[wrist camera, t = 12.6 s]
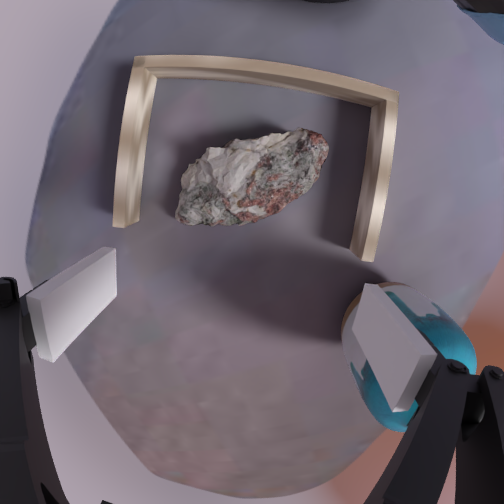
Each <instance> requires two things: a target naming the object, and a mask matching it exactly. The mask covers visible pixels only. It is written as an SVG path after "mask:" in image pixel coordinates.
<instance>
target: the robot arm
mask: <svg viewBox="0 0 504 504" xmlns="http://www.w3.org/2000/svg"><path fill="white" fill-rule="evenodd" d="M305 1H311V2H320V3H336V2H344V1H348V0H305ZM453 1H454V2H455V3H456V4H457V7H458V8H459V9H460V10H461V11H462V12H464V13H466V14H468V15H469V16H470V17H471V18H472V19H473V20H474V21H475V22H476V23H477V24H478V25H479V26H480V27H481V28H482V29H483V30H484V31H485V32H486V33H487V34H488V35H489V36H490V37H491V38H493V39H494V40H496V41H497V42H499V43H501V44H503V45H504V0H453ZM116 296H117V286H116V248H111V247H102V248H100V249H99V250H97V251H95V252H93V253H92V254H90V255H88V256H87V257H85V258H83V259H82V260H80V261H79V262H77V263H75V264H74V265H72V266H70V267H69V268H67V269H66V270H64V271H62V272H61V273H59V274H58V275H56V276H55V277H53V278H51V279H49V280H46V281H44V282H43V283H41V284H40V285H39V286H37V287H35V288H34V289H33V290H31V291H29V292H28V293H26V294H25V295H23V296H22V297H20V298H19V293H18V286H17V281H16V279H14V278H12V277H1V278H0V504H69V502H68V500H67V499H66V497H65V494H64V492H63V490H62V487H61V484H60V481H59V478H58V475H57V472H56V469H55V466H54V462H53V459H52V456H51V452H50V448H49V444H48V441H47V437H46V432H45V429H44V424H43V419H42V414H41V409H40V404H39V398H38V392H37V386H36V379H35V371H34V362H33V356H32V352H31V349H32V348H33V347H34V346H35V345H36V346H37V350H38V354H39V357H40V358H43V359H45V360H48V361H51V362H54V361H55V360H56V359H57V358H58V357H59V356H60V355H61V353H63V351H64V350H65V349H66V348H67V347H68V346H69V345H70V344H71V343H72V342H73V341H74V340H75V338H76V337H77V336H78V335H79V334H80V333H81V332H82V331H83V330H84V329H85V328H86V327H87V326H88V325H89V324H90V323H91V322H92V321H93V320H94V318H95V317H96V316H97V315H98V314H99V313H100V312H101V311H102V310H103V309H104V308H105V307H106V306H107V305H108V304H109V303H110V302H111V301H112V300H113V299H114V298H115V297H116ZM352 331H353V332H354V334H355V336H356V338H357V340H358V342H359V344H360V346H361V348H362V350H363V352H364V354H365V356H366V358H367V360H368V362H369V364H370V366H371V368H372V370H373V372H374V375H375V377H376V379H377V381H378V383H379V385H380V387H381V389H382V391H383V393H384V395H385V398H386V400H387V402H388V404H389V406H390V408H391V410H392V412H401V411H408V410H409V409H410V407H411V405H412V403H413V402H414V400H416V402H417V404H418V407H417V409H416V411H415V412H414V414H413V416H412V417H411V419H410V421H409V422H408V424H407V425H406V426H408V427H407V430H406V432H405V434H404V436H403V438H402V440H401V441H400V443H399V445H398V447H397V449H396V451H395V453H394V455H393V456H392V459H391V460H390V462H389V464H388V465H387V467H386V469H385V471H384V472H383V474H382V476H381V477H380V479H379V481H378V482H377V484H376V485H375V487H374V489H373V490H372V492H371V493H370V495H369V496H368V498H367V499H366V501H365V502H364V504H437V502H438V499H439V497H440V494H441V491H442V489H443V486H444V483H445V480H446V477H447V474H448V471H449V468H450V464H451V461H452V458H453V454H454V450H455V447H456V492H455V504H504V372H503V371H502V369H499V367H495V366H489V365H488V366H485V367H484V369H483V371H482V372H481V374H480V375H474V374H470V373H469V369H468V368H467V366H465V365H464V364H463V363H461V362H459V361H458V360H454V359H446V358H445V357H444V356H443V355H442V353H441V352H440V351H439V350H438V349H437V347H436V346H434V344H433V343H432V341H430V339H429V338H428V337H427V336H426V334H425V333H423V332H422V331H420V330H419V329H417V328H415V327H414V325H413V324H412V323H411V322H410V321H409V320H408V318H407V317H406V316H405V315H404V314H403V313H402V311H401V310H400V309H399V308H398V307H397V306H396V305H395V303H394V302H393V301H392V300H391V299H390V298H389V297H388V296H387V294H386V293H385V292H384V291H383V290H382V289H381V288H380V287H379V286H378V285H376V284H368V283H365V285H364V289H363V292H362V296H361V299H360V303H359V306H358V310H357V313H356V317H355V320H354V323H353V326H352ZM101 504H112V503H109V502H106V501H104V500H102V502H101Z"/></svg>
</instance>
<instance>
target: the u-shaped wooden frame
mask: <svg viewBox="0 0 504 504" xmlns="http://www.w3.org/2000/svg"><path fill="white" fill-rule="evenodd" d="M157 78H178V79H204V80H219V81H231V82H241V83H250V84H259V85H266V86H273V87H280V88H286V89H292V90H298V91H303V92H309V93H314V94H319V95H323V96H328V97H333V98H337V99H341V100H345V101H349V102H353V103H357V104H361V105H365V106H368V107H372V108H371V118H370V127H369V135H368V143H367V151H366V158H365V165H364V172H363V178H362V185H361V191H360V197H359V202H358V208H357V213H356V219H355V224H354V229H353V234H352V239H351V244H350V249H349V250H351V251H352V252H353V253H354V254H355V255H356V256H357V257H358V258H359V259H360V260H361V261H368V262H373V260H374V256H375V252H376V247H377V243H378V238H379V234H380V229H381V224H382V219H383V214H384V208H385V203H386V197H387V192H388V186H389V179H390V173H391V166H392V159H393V151H394V143H395V134H396V124H397V113H398V101H399V92H398V91H395V90H392V89H388V88H385V87H382V86H379V85H376V84H372V83H369V82H366V81H362V80H358V79H355V78H351V77H347V76H343V75H339V74H335V73H330V72H326V71H321V70H317V69H312V68H307V67H301V66H296V65H290V64H284V63H277V62H270V61H263V60H254V59H245V58H234V57H221V56H202V55H152V56H135V58H134V63H133V67H132V71H131V76H130V81H129V86H128V91H127V96H126V102H125V108H124V114H123V120H122V127H121V134H120V141H119V149H118V158H117V168H116V179H115V191H114V207H113V227H120V228H125V227H127V226H129V225H131V224H133V223H135V222H137V221H139V216H140V202H141V190H142V179H143V169H144V160H145V152H146V144H147V136H148V129H149V122H150V116H151V110H152V104H153V98H154V93H155V87H156V82H157Z"/></svg>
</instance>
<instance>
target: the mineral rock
mask: <svg viewBox="0 0 504 504" xmlns="http://www.w3.org/2000/svg"><path fill="white" fill-rule="evenodd" d="M328 151H329V146H328V143H327V142H326V141H325V139H324V138H323V137H322V134H318V133H316V132H313V131H309V130H307V129H303V128H299V127H298V128H297V129H296V130H295V131H293V132H286V133H284V134H280V133H271V134H269V135H268V136H263V137H260V138H256V139H246V140H239V139H235V140H231V141H229V142H228V143H226V144H225V146H224V147H223V148H220V147H217V148H213V147H209V148H207V149H206V152H205V154H203V155H202V157H201V158H200V159H196V162H195V163H194V164H189V166H188V169H187V170H186V171H185V172H184V173H183V174H182V178H181V185H182V189H183V190H182V191H181V193H180V195H179V198H180V199H179V205H178V208H177V210H176V212H175V218H176V220H177V221H179V222H181V223H183V224H185V225H190V226H192V225H198V224H204V225H210V226H211V227H213V226H215V225H217V224H221V225H225V226H229V225H230V226H231V225H233V224H238V225H239V226H241V225H245V224H246V223H248V222H249V223H255V222H257V220H259V219H264V218H265V217H268V216H270V215H273V214H275V213H278V212H280V211H281V210H282V209H283V208H284V207H285V206H286V205H287V204H288V203H290V202H291V201H293V200H294V199H297V198H298V197H299V196H302V195H303V194H305V193H306V192H307V191H308V190H309V189H310V188H311V187H312V185H313V184H314V183H315V182H316V181H317V179H318V178H319V174H320V170H321V168H322V164H323V162H325V160H326V157H327V154H328Z"/></svg>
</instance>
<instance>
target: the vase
mask: <svg viewBox="0 0 504 504" xmlns="http://www.w3.org/2000/svg"><path fill="white" fill-rule="evenodd" d="M376 285H378V286H379V287H380V288H381V289H382V290H383V291H384V292H385V293H386V294H387V296H388V297H389V298H390V299H391V300H392V301H393V302H394V303H395V305H396V306H397V307H398V308H399V309H400V310H401V311H402V313H403V314H404V315H405V316H406V317H407V318H408V320H409V321H410V322H411V323H412V324H413V325H414V327H415V328H417V329H419V330H420V331H422V332H423V333H425V334H426V336H427V337H428V338H429V339H430V341H432V343H433V344H434V346H436V347H437V349H438V350H439V351H440V352H441V353H442V355H443V356H444V357H445V358H446V359H454V360H458V361H459V362H461V363H463V364H464V365H465V366H467V368H468V369H469V373H470V374H474V375H475V373H476V367H477V361H476V355H475V350H474V348H473V345H472V343H471V342H470V340H469V338H468V337H467V335H466V334H465V333H464V331H463V330H462V329H461V328H460V327H459V326H458V324H457V323H456V322H455V321H454V320H453V319H452V318H451V317H450V316H449V315H448V314H447V313H446V312H445V311H444V310H442V309H441V308H440V307H439V306H438V305H437V304H436V303H434V302H433V301H432V300H430V299H429V298H428V297H426V296H425V295H423V294H422V293H420V292H419V291H417V290H415V289H414V288H412V287H410V286H407V285H405V284H402V283H397V282H384V283H379V284H376ZM362 292H363V291H362ZM362 292H361V293H360V294H359V295H358V296H356V298H355V299H354V300H353V301H352V302H351V304H350V305H349V307H348V308H347V310H346V312H345V314H344V317H343V320H342V325H341V341H342V346H343V351H344V354H345V358H346V361H347V363H348V366H349V369H350V371H351V374H352V376H353V379H354V381H355V383H356V386H357V388H358V390H359V392H360V394H361V396H362V398H363V400H364V402H365V404H366V405H367V407H368V409H369V410H370V412H371V413H372V415H373V416H374V417H375V419H376V420H377V421H378V422H379V423H380V424H382V425H383V426H384V427H386V428H388V429H390V430H393V431H398V432H406V430H407V427H408V426H406V425H407V424H408V422H409V421H410V419H411V417H412V416H413V414H414V412H415V411H416V409H417V407H418V404H417V402H416V400H414V402H413V403H412V405H411V407H410V409H409V410H408V411H401V412H392V410H391V408H390V406H389V404H388V402H387V400H386V398H385V395H384V393H383V391H382V389H381V387H380V385H379V383H378V381H377V379H376V377H375V375H374V372H373V370H372V368H371V366H370V364H369V362H368V360H367V358H366V356H365V354H364V352H363V350H362V348H361V346H360V344H359V342H358V340H357V338H356V336H355V334H354V332H353V331H352V326H353V323H354V320H355V317H356V313H357V310H358V306H359V303H360V299H361V296H362Z"/></svg>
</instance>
